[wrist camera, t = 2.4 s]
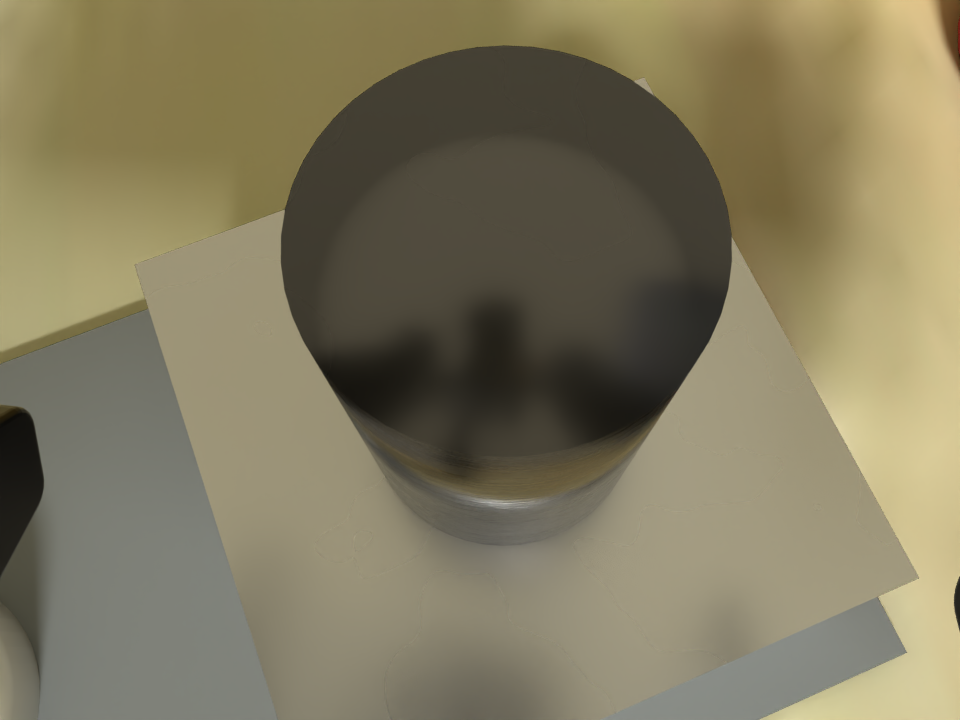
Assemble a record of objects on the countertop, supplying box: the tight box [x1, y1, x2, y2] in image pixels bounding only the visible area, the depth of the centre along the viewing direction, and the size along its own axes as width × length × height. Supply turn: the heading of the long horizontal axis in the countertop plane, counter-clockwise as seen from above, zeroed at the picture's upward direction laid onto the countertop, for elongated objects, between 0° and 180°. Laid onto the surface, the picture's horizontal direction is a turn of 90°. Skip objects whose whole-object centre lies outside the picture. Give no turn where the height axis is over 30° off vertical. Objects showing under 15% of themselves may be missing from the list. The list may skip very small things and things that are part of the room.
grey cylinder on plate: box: [135, 46, 919, 720], centre depth 13 cm, size 9×9×10 cm
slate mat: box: [0, 309, 907, 720], centre depth 18 cm, size 23×12×1 cm, turn 112°
